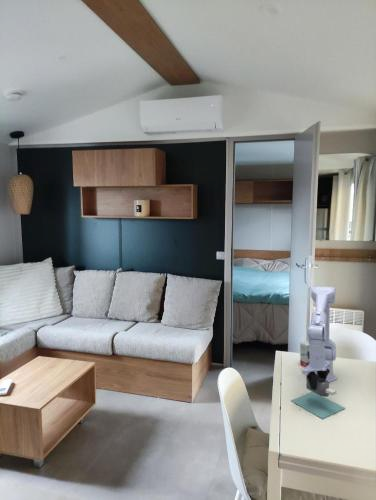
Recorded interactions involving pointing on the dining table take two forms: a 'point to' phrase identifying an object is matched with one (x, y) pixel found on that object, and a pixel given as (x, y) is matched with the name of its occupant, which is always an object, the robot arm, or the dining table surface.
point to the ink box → (304, 354)
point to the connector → (321, 387)
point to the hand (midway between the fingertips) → (317, 387)
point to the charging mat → (318, 405)
